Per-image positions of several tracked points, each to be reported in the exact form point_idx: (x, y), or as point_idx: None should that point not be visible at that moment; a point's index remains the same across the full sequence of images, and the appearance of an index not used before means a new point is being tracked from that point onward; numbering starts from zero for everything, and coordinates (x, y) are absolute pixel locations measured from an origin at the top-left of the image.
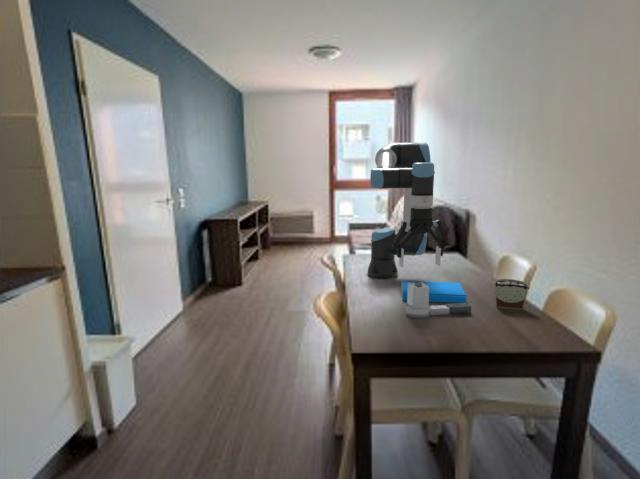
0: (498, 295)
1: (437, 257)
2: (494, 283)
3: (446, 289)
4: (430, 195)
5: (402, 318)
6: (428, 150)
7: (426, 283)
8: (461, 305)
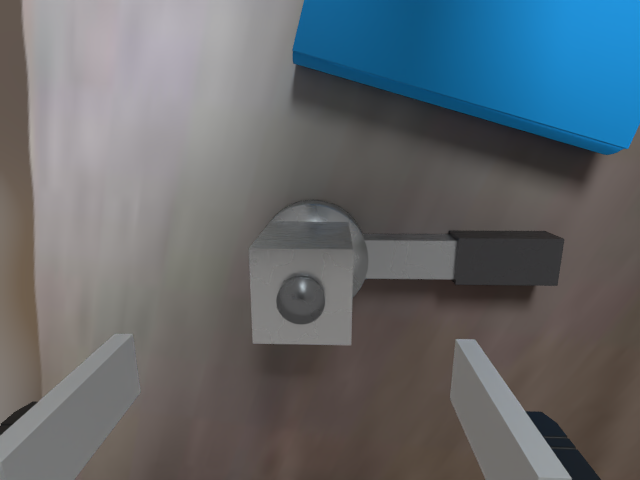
0: None
1: (476, 428)
2: None
3: (575, 30)
4: None
5: (237, 284)
6: None
7: None
8: (520, 268)
